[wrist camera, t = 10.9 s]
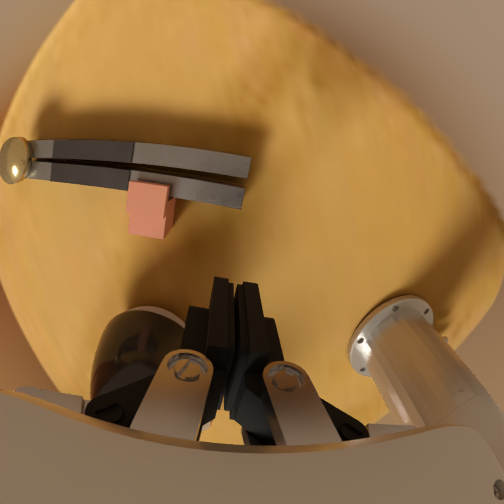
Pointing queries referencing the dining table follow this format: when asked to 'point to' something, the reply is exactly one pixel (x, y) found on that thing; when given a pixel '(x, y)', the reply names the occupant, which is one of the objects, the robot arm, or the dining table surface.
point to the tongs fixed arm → (113, 175)
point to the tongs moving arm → (143, 154)
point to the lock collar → (150, 209)
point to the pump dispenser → (134, 347)
